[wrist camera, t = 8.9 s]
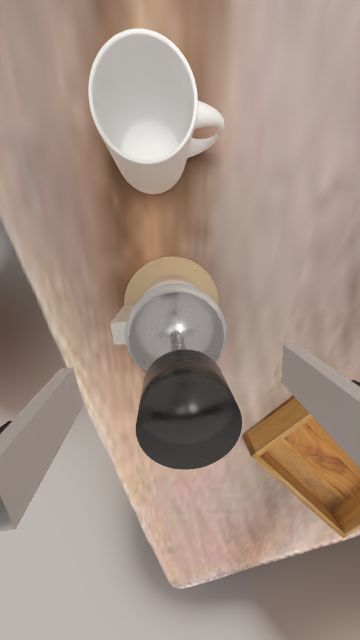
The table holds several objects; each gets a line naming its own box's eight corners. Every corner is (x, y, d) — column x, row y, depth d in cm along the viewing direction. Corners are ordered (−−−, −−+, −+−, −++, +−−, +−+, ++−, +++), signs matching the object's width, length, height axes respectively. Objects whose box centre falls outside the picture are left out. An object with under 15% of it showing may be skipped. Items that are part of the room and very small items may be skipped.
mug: (213, 192, 29) (239, 158, 19) (122, 198, 29) (98, 166, 18) (211, 113, 27) (240, 24, 16) (111, 117, 26) (77, 28, 16)
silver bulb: (123, 296, 19) (68, 350, 8) (220, 286, 19) (290, 327, 8) (137, 382, 21) (109, 510, 10) (223, 372, 21) (279, 486, 11)
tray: (240, 432, 42) (252, 459, 36) (305, 383, 39) (327, 403, 34) (323, 508, 49) (343, 539, 44) (381, 470, 47) (410, 498, 42)
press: (117, 261, 31) (83, 265, 18) (215, 252, 31) (251, 250, 18) (132, 351, 35) (113, 407, 22) (219, 342, 35) (250, 391, 22)
